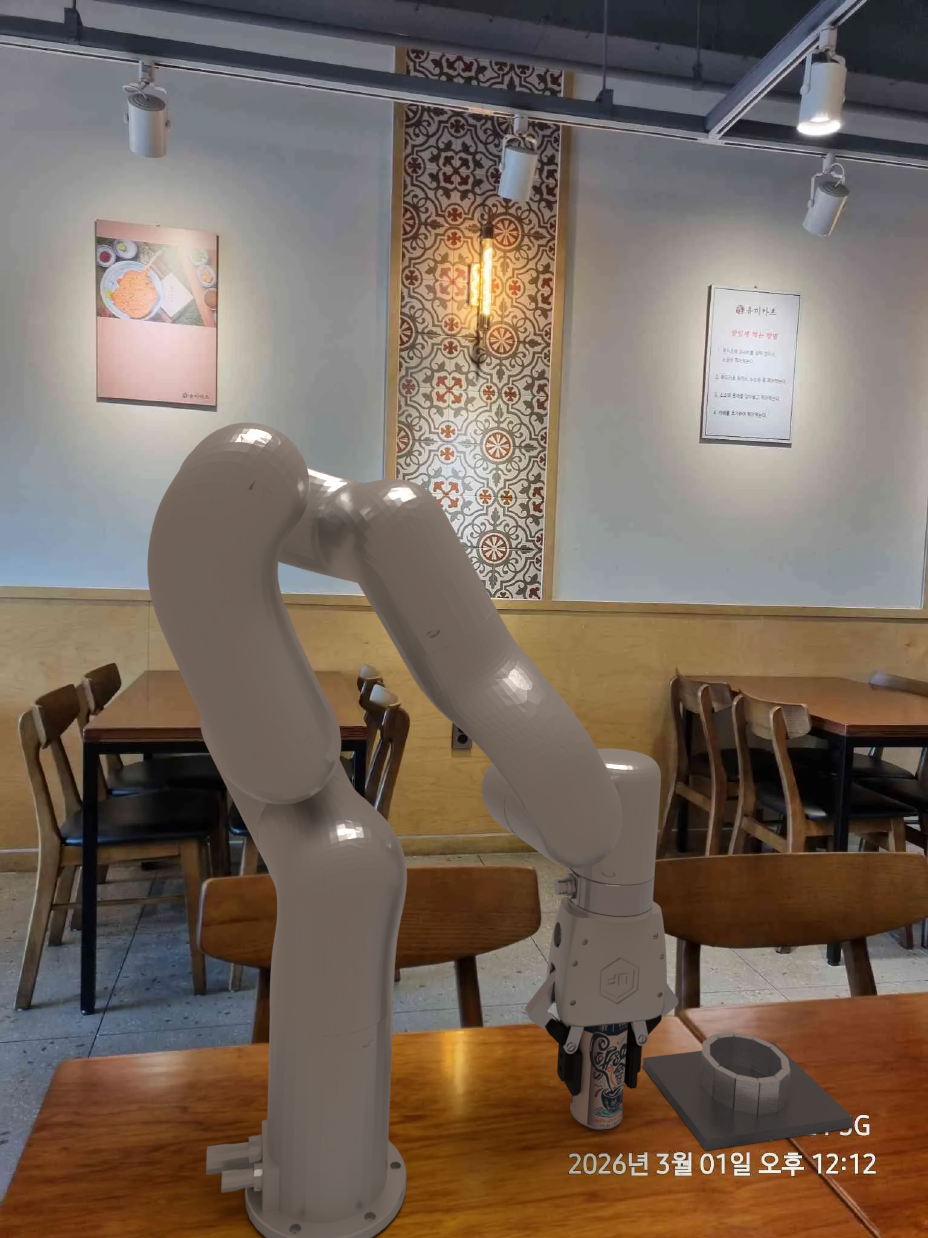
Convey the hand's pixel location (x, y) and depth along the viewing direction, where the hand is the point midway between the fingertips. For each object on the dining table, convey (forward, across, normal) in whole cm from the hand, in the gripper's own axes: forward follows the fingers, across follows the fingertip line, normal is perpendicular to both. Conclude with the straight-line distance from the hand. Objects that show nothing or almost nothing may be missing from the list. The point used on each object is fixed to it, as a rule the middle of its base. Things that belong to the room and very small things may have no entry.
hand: (598, 1081), depth 76 cm
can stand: (+3, +15, 0) cm, 16 cm away
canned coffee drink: (+4, 0, 0) cm, 4 cm away
